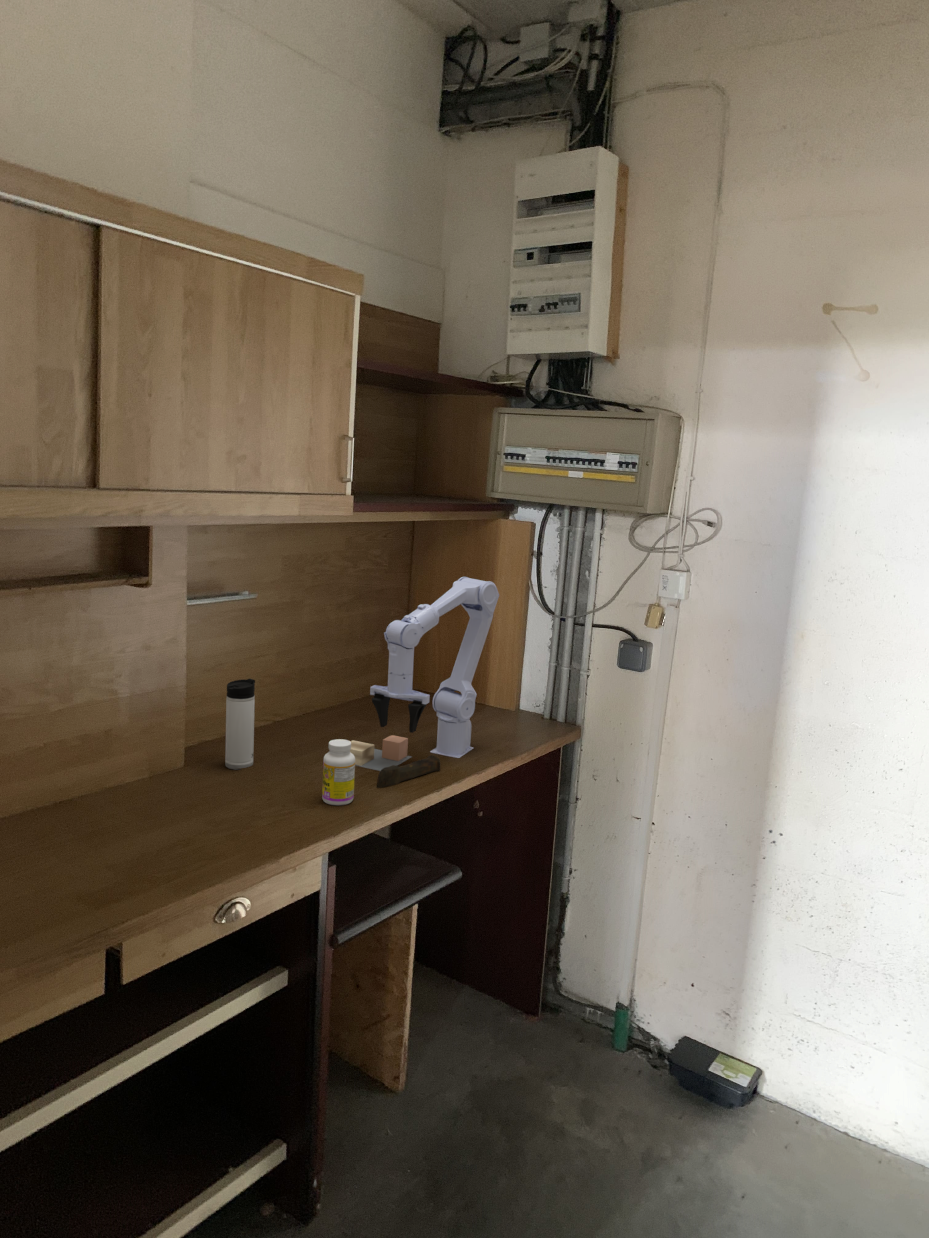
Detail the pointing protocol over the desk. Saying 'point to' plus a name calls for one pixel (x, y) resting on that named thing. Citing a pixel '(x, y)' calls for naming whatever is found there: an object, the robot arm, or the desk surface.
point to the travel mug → (240, 724)
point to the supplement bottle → (338, 773)
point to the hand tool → (407, 771)
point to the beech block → (362, 752)
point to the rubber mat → (381, 761)
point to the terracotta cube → (394, 748)
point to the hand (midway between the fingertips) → (398, 728)
